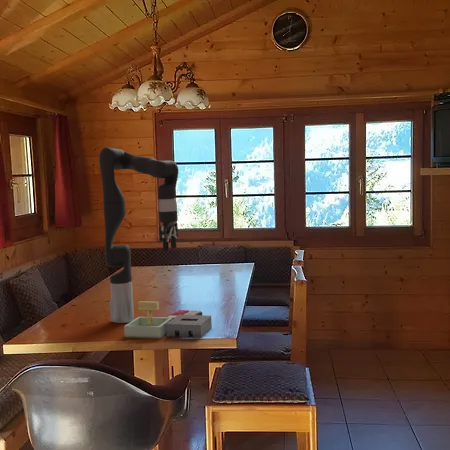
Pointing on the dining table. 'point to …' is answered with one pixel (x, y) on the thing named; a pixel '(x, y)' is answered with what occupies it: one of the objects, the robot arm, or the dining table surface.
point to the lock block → (189, 326)
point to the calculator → (184, 313)
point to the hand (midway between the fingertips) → (170, 249)
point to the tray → (147, 328)
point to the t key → (148, 309)
